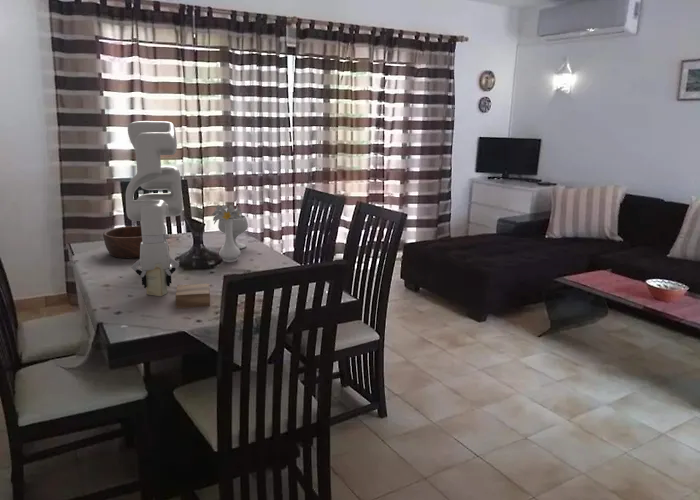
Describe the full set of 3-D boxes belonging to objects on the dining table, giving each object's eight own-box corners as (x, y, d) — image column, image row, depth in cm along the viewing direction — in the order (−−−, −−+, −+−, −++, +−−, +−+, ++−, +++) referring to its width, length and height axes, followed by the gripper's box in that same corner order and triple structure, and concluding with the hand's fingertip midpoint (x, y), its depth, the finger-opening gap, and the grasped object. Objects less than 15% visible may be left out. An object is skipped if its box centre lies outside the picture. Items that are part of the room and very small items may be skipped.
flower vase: (235, 253, 257) (234, 200, 251) (250, 263, 242) (248, 207, 235) (208, 256, 250) (205, 202, 244) (220, 267, 235) (218, 209, 229)
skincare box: (146, 294, 200) (144, 262, 197) (153, 291, 204) (151, 259, 201) (162, 296, 198) (159, 263, 195) (168, 292, 203) (166, 260, 200)
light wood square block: (178, 298, 198) (177, 285, 197) (209, 296, 200) (209, 283, 199) (176, 309, 188) (175, 295, 186) (209, 307, 190) (209, 293, 189)
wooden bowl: (104, 248, 261) (102, 227, 258) (160, 244, 270) (159, 224, 268) (104, 262, 239) (102, 239, 236) (165, 257, 248) (164, 235, 246)
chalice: (212, 247, 267) (211, 216, 263) (235, 242, 278) (234, 212, 274) (232, 252, 259) (231, 220, 255) (254, 246, 270) (253, 216, 266)
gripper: (179, 235, 202) (182, 281, 206) (128, 237, 197) (132, 284, 202) (179, 239, 195) (182, 287, 199) (126, 242, 190) (130, 291, 195)
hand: (157, 285), depth 200 cm, fingers closed on skincare box, 7 cm apart
